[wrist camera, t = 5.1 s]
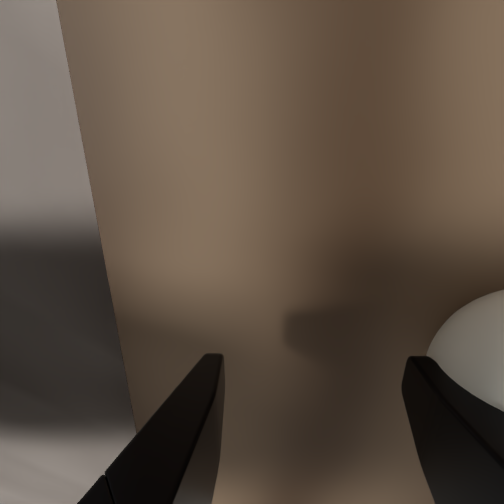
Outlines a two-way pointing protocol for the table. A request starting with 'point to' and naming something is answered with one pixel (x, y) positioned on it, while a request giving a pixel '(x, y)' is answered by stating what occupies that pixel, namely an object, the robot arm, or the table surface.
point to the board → (293, 215)
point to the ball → (474, 348)
